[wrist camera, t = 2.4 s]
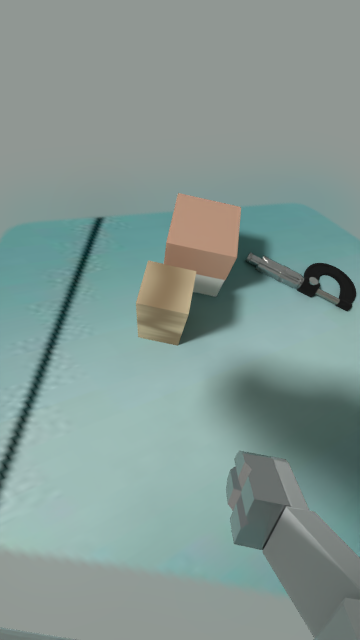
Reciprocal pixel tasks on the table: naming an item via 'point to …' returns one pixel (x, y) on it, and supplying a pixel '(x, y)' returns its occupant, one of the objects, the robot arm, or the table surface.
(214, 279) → the off-white tower block
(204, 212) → the terracotta tower block
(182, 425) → the table surface
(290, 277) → the micrometer
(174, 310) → the oak block
